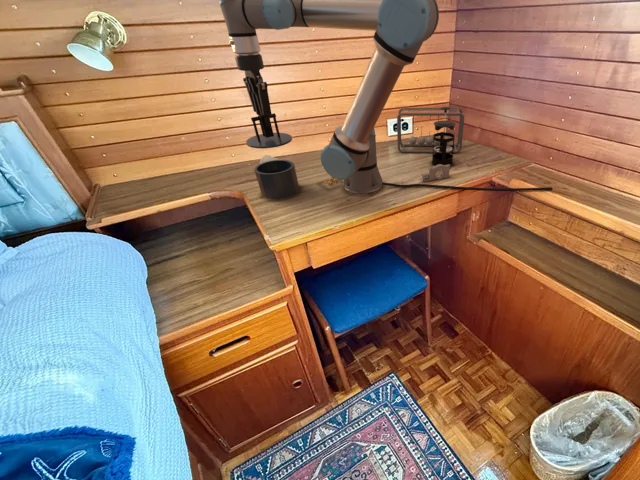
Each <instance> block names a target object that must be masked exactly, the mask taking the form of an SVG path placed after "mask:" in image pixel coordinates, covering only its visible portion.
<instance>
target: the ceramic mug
mask: <svg viewBox="0 0 640 480" xmlns="http://www.w3.org/2000/svg"><path fill="white" fill-rule="evenodd" d="M272 160H281V159H280V158H276V157H274V156H271V155H268V154H266V155H263V156H262V157H261V158H260V160H259V164H261V163H263V162H267V161H272ZM259 164H258V165H259Z"/></svg>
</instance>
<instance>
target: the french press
mask: <svg viewBox="0 0 640 480" xmlns="http://www.w3.org/2000/svg"><path fill="white" fill-rule="evenodd" d="M439 108H440V109H442V110H441V111H443V113H445V116H444V120H439V121H438V120H436V121H435V122H433V126H434V130H435V131H440V130H442V129H443V131H440V132H436V133H434V134H433V136H432V138H433V143H432V144H433V146H432V150H434V151H435V152H437V153H432V157H431V158H432V159H431V165H432V166H433V167H434V166H436V165H439V164H441V165H448V164H450V167H452V166H453V164H454V161H453V160H454V153H453V151H455V147H454V144H455V137H456V136H455V134H454V133H451V132H447V131H446V127H447V128H448V129H450V131H454V130H455V126H456V122H455V121H451V120H447V121H446V119H447V116H446V113H447V111H450V110H449V109H451V108H452V107H450V106H441V107H439ZM437 136H438V137H440V138H436V137H437ZM445 136H446V137H448V138H449V139H445ZM434 140H435V141H438V142H440V146H434ZM447 142H449V143H450V142H452V144H453V147H451V146H447ZM450 152H452V153H450Z"/></svg>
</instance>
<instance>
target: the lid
mask: <svg viewBox="0 0 640 480" xmlns="http://www.w3.org/2000/svg"><path fill="white" fill-rule="evenodd" d="M269 118H270V119H273V120H272V121H273V123H274V128H275V131H276V132H273V134H274V136H273V137H269V138H266V137H264V136H263V133H260V134H259V131H258V126H257V124H256V122H259V120H261V118H260V117H259V116H258V115H257V116H253V117H250V119H251V122H252V125H253V129H254V133H255V135H253V136H251V137H249V138H248V139H246V141H245V144H246V146H247V147H249V148H253V149H274V148H278V147H282V146H285V145H288V144H290V143H291V142H292V141H293V136H292V135H291V134H289V133H285V132H280V131H279V130H280V129H279V126H278V122H277V115H276V112H275V113H274V112H273V113H271V115H270V116H269Z"/></svg>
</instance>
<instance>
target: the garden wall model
mask: <svg viewBox="0 0 640 480" xmlns="http://www.w3.org/2000/svg"><path fill="white" fill-rule="evenodd" d="M450 168H451V166H450V164H448V165H441V164H439V165H436V166H434V165H433V166H432V167H427V169H428V172H426V173H421V181H422V182H423V183H424V182H430V181H434V180H435V181H436V180H442V179H446V178H450Z"/></svg>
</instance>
